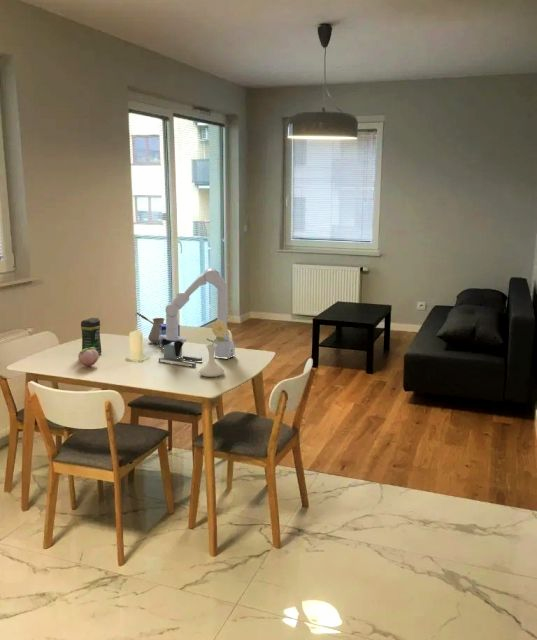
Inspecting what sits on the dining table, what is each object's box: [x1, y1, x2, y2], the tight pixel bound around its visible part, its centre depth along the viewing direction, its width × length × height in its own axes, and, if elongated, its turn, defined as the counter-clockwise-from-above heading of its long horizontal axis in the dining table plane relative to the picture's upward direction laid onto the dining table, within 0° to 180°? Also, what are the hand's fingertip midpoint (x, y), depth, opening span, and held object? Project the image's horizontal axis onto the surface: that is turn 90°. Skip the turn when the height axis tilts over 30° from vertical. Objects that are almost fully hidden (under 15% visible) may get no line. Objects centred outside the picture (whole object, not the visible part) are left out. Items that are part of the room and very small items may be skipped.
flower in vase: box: [198, 320, 229, 378], centre depth 272 cm, size 13×11×25 cm
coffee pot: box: [134, 312, 166, 344], centre depth 333 cm, size 21×12×15 cm, turn 61°
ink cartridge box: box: [159, 323, 181, 349], centre depth 321 cm, size 10×6×14 cm, turn 115°
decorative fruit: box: [77, 347, 100, 368], centre depth 284 cm, size 9×8×10 cm
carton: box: [163, 342, 183, 360], centre depth 300 cm, size 5×8×7 cm, turn 154°
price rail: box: [158, 354, 203, 368], centre depth 294 cm, size 20×10×2 cm, turn 64°
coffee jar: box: [80, 317, 102, 355], centre depth 304 cm, size 10×8×19 cm
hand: (172, 355), depth 301 cm, fingers closed on carton, 5 cm apart
